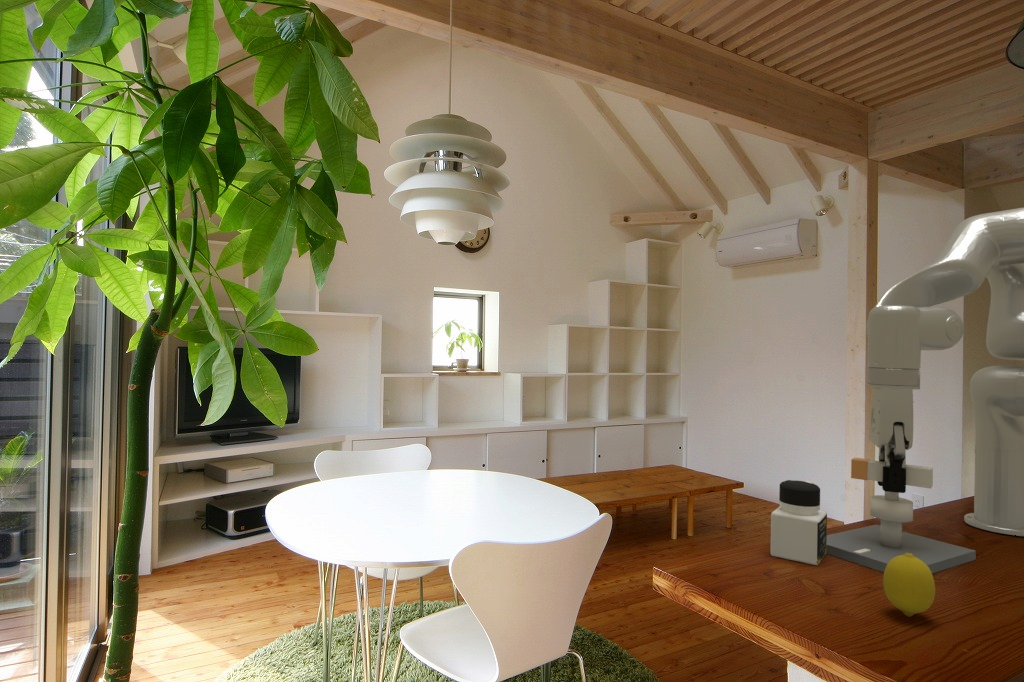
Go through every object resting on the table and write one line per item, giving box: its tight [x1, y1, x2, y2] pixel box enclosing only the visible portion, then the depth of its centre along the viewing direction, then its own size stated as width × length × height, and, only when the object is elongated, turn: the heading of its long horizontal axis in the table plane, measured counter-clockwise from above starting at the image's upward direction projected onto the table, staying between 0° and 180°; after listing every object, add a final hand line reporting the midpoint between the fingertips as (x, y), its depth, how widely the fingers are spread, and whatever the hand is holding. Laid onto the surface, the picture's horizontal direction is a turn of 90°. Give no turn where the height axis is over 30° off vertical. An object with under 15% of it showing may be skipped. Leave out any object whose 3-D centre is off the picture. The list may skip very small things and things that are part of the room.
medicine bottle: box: [769, 479, 828, 566], centre depth 99 cm, size 7×7×12 cm
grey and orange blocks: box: [850, 457, 934, 523], centre depth 101 cm, size 11×6×9 cm, turn 50°
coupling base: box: [826, 519, 977, 574], centre depth 100 cm, size 20×16×6 cm
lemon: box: [882, 553, 936, 617], centre depth 76 cm, size 6×6×8 cm
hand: (891, 487), depth 100 cm, fingers closed on grey and orange blocks, 3 cm apart
